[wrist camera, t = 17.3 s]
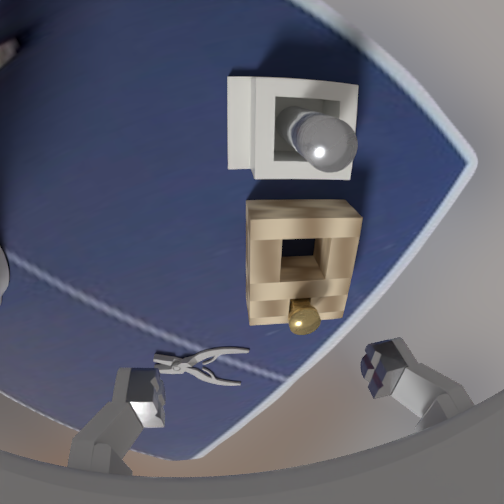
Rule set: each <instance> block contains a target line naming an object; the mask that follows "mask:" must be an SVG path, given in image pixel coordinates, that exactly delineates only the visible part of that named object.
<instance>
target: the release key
mask: <svg viewBox="0 0 504 504" xmlns="http://www.w3.org/2000/svg"><path fill="white" fill-rule="evenodd" d="M289 309H290V313H289V316H288V322H289V326H290V329H291V331H292V332H293V333H295V334H298V335H306V334H309V333H312V332H313V331H315V330H316V329H317V328H318V327H319V325H320V322H321V319H320V316H319V314H318V311H317V309H316V308H315V307H313V306H311V305H310V302H309V299H308V298H299V299H290V304H289Z"/></svg>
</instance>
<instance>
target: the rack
mask: <svg viewBox="0 0 504 504" xmlns="http://www.w3.org/2000/svg"><path fill="white" fill-rule="evenodd" d="M357 103H358V85H354V84H346V83H339V82H330V81H321V80H310V79H298V78H281V77H227V121H228V169H251V171H252V173H253V176H254V179H331V180H350V177H351V170H352V163H353V161H352V162H351V163H350V164H349V165H348V166H347V167H346V168H344V169H343V170H340V171H338V172H333V173H327V172H322V171H320V170H318V169H316V168H315V167H313V166H312V165H311V164H310V163H309V162H308V161H307V160H306V159H305V158H304V157H303V156H301V155H300V154H299V153H298V152H297V151H296V150H295V149H294V148H293V147H292V146H291V145H289V144H288V143H287V142H286V141H285V140H284V139H283V138H282V137H281V136H280V135H279V134H278V132H277V129H276V119H277V116H278V114H279V113H280V112H281V111H282V110H283V109H285V108H287V107H290V106H298V107H302V108H306V109H309V110H312V111H316V112H319V113H322V114H325V115H329V116H332V117H335V118H338V119H341V120H343V121H345V122H346V123H347V124H349V125H350V126H351V127H352V129H353V130H354V132H355V131H356V118H357Z"/></svg>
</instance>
